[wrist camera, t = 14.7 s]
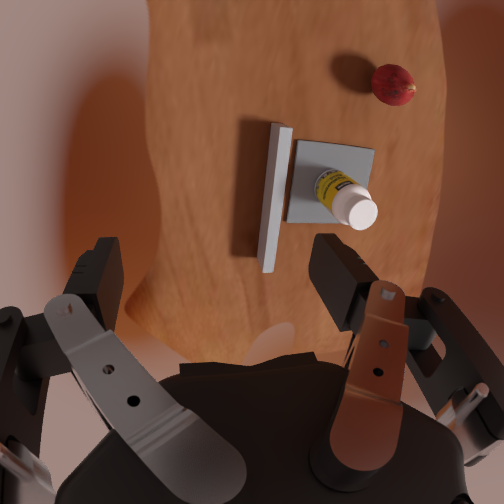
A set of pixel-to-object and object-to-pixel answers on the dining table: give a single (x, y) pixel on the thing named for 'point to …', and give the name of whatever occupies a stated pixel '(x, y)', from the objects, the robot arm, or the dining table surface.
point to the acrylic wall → (273, 194)
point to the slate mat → (312, 166)
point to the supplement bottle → (345, 199)
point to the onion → (393, 85)
